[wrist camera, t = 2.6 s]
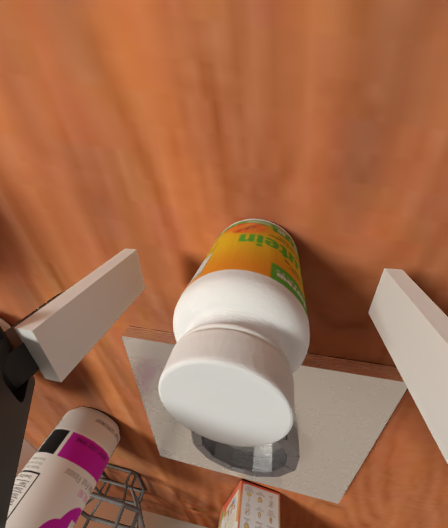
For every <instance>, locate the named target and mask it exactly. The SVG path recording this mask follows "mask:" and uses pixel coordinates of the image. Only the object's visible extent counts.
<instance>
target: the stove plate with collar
mask: <svg viewBox="0 0 448 528" xmlns="http://www.w3.org/2000/svg"><path fill="white" fill-rule="evenodd" d="M122 339H123V342H124V345H125V349H126V352H127V355H128V358H129V361H130V364H131V367H132V370H133V373H134V376H135V379H136V382H137V386H138V389H139V392H140V395H141V398H142V401H143V404H144V407H145V410H146V413H147V416H148V419H149V423H150V426H151V429H152V432H153V435H154V438H155V441H156V444H157V447H158V450H159V453H160V456H162V457H165V458H169V459H173V460H177V461H180V462H184V463H188V464H192V465H195V466H199V467H203V468H207V469H210V470H214V471H218V472H221V473H225V474H229V475H233V476H236V477H240V478H244V479H248V480H251V481H255V482H259V483H263V484H266V485H270V486H274V487H277V488H281V489H285V490H289V491H292V492H296V493H300V494H304V495H307V496H311V497H315V498H319V499H322V500H326V501H330V502H333V503H337V504H338V503H339V502H340V500H341V498H342V497H343V495H344V493H345V492H346V490H347V488H348V487H349V485H350V483H351V482H352V480H353V478H354V477H355V475H356V473H357V472H358V470H359V468H360V467H361V465H362V463H363V462H364V460H365V458H366V457H367V455H368V453H369V452H370V450H371V448H372V447H373V445H374V443H375V442H376V440H377V438H378V436H379V435H380V433H381V431H382V430H383V428H384V426H385V425H386V423H387V421H388V420H389V418H390V416H391V415H392V413H393V411H394V410H395V408H396V406H397V405H398V403H399V401H400V400H401V398H402V396H403V395H404V393H405V391H406V390H407V386H406V384H405V382H404V380H403V378H402V377H401V375H400V373H399V371H398V369H397V367H393V366H387V365H380V364H374V363H367V362H360V361H354V360H347V359H341V358H334V357H328V356H321V355H315V354H308V353H307V354H306V356H305V359H304V361H303V362H302V364H301V365H300V367H299V368H298V369H297V370H296V371H295V372H294V373H293V374H292V375H293V380H294V409H295V417H294V423H293V425H292V428H291V430H290V431H289V433H288V434H287V435H286V436H285V437H283V438H282V439H280V440H279V441H276V442H274V443H271V444H268V445H262V446H253V447H242V446H234V445H229V444H224V443H220V442H216V441H213V440H210V439H208V438H205V437H203V436H201V435H199V434H197V433H195V432H193V431H191V430H190V429H188V428H186V427H185V426H183V425H182V424H181V423H179V422H178V421H177V420H176V419H175V418H174V417H172V415H171V414H170V413H169V412H168V411H167V410H166V408H165V407H164V405H163V403H162V401H161V399H160V396H159V390H158V385H159V380H160V377H161V374H162V372H163V370H164V368H165V366H166V364H167V361H168V359H169V357H170V355H171V352H172V350H173V348H174V346H175V345H176V343H177V342H176V339H175V335H174V333H171V332H164V331H157V330H151V329H144V328H138V327H131V326H129V327H128V328H127V330H126V331H125V332H124V333H123V335H122Z"/></svg>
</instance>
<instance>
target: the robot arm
mask: <svg viewBox="0 0 448 528" xmlns="http://www.w3.org/2000/svg"><path fill="white" fill-rule="evenodd" d="M144 289H145V284H144V280H143V275H142V271H141V266H140V262H139V257H138V253H137V249H124V250H122V251H121V252H120V253H118V254H117V255H115V256H114V257H113V258H111V259H110V260H108V261H107V262H106V263H104V264H103V265H101V266H100V267H99V268H97V269H96V270H94V271H93V272H92V273H90V274H89V275H87V276H86V277H85V278H83V279H82V280H80V281H79V282H77V283H76V284H75V285H73V286H72V287H70V288H69V289H68V290H66V291H64V292H62V293H60V294H58V295H56V296H55V297H53V298H52V299H50V300H49V301H48V302H47V303H45V304H43V305H42V306H40V307H39V309H36V310H35V311H33V312H32V313H31V314H29V315H28V316H26V317H25V318H23V319H22V320H21V321H19V322H18V323H16V324H15V325H13V326H12V327H11V328H9V329H8V330H6V331H5V332H4V331H3V329H2V328H1V326H0V528H5V526H6V521H7V516H8V511H9V507H10V502H11V497H12V492H13V487H14V482H15V477H16V473H17V467H18V463H19V458H20V453H21V448H22V443H23V439H24V434H25V429H26V424H27V419H28V414H29V409H30V405H31V400H32V395H33V390H34V385H35V379H34V377H33V375H34V374H35V373H36V372H37V371H38V370H40V371H41V373H42V375H43V376H44V378H45V379H48V380H52V381H57V382H62V381H63V380H64V379H65V378H66V377H67V376H68V374H69V373H70V372H71V371H72V370H73V369H74V368H75V367H76V365H77V364H78V363H79V362H80V361H81V360H82V359H83V358H84V356H85V355H86V354H87V353H88V352H89V351H90V350H91V349H92V348H93V346H94V345H95V344H96V343H97V342H98V341H99V340H100V339H101V337H102V336H103V335H104V334H105V333H106V332H107V331H108V330H109V328H110V327H111V326H112V325H113V324H114V323H115V322H116V321H117V320H118V318H119V317H120V316H121V315H122V314H123V313H124V312H125V311H126V309H127V308H128V307H129V306H130V305H131V304H132V303H133V302H134V300H135V299H136V298H137V297H138V296H139V295H140V294H141V293H142V291H143V290H144ZM368 314H369V316H370V317H371V319H372V321H373V323H374V325H375V327H376V329H377V331H378V333H379V335H380V337H381V338H382V340H383V342H384V344H385V346H386V348H387V350H388V352H389V354H390V356H391V357H392V359H393V361H394V363H395V365H396V367H397V369H398V371H399V373H400V375H401V377H402V378H403V380H404V382H405V384H406V386H407V388H408V390H409V392H410V394H411V396H412V398H413V399H414V401H415V403H416V405H417V407H418V409H419V411H420V413H421V415H422V417H423V418H424V420H425V422H426V424H427V426H428V428H429V430H430V432H431V434H432V436H433V438H434V439H435V441H436V443H437V445H438V447H439V449H440V451H441V453H442V455H443V457H444V458H445V460H446V462H447V464H448V317H447V316H446V315H445V314H444V312H443V311H442V310H441V309H440V308H439V307H438V306H437V305H436V304H435V303H434V302H433V301H432V300H431V299H430V298H429V297H428V296H427V295H426V294H425V293H424V292H423V291H422V290H421V289H420V288H419V287H418V285H417V284H416V283H415V282H414V281H413V280H412V279H411V278H410V277H409V276H408V275H407V274H406V273H405V272H404V271H403V270H400V269H387V268H384V271H383V273H382V276H381V279H380V282H379V284H378V287H377V290H376V292H375V295H374V298H373V301H372V303H371V306H370V309H369V312H368Z"/></svg>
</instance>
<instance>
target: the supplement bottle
mask: <svg viewBox="0 0 448 528" xmlns="http://www.w3.org/2000/svg"><path fill="white" fill-rule="evenodd" d="M173 329H174V335H175V339H176V342H177V343H176V345H175V346H174V348H173V350H172V352H171V355H170V357H169V359H168V361H167V364H166V366H165V368H164V370H163V372H162V374H161V377H160V380H159V385H158V390H159V396H160V399H161V401H162V403H163V405H164V407H165V408H166V410H167V411H168V412H169V413H170V414H171V415H172V417H174V418H175V419H176V420H177V421H178V422H179V423H181V424H182V425H183V426H185V427H186V428H188V429H190V430H191V431H193V432H195V433H197V434H199V435H201V436H203V437H205V438H208V439H210V440H213V441H216V442H220V443H224V444H229V445H234V446H242V447H253V446H262V445H268V444H271V443H274V442H276V441H279V440H280V439H282V438H283V437H285V436H286V435H287V434H288V433H289V431H290V430H291V428H292V425H293V423H294V417H295V409H294V380H293V375H292V374H293V373H294V372H295V371H296V370H297V369H298V368H299V367H300V365H301V364H302V362H303V361H304V359H305V356H306V354H307V351H308V347H309V342H310V330H309V319H308V313H307V308H306V301H305V295H304V289H303V282H302V276H301V269H300V262H299V256H298V251H297V248H296V245H295V243H294V241H293V239H292V238H291V236H290V235H289V234H288V233H287V232H286V231H285V230H284V229H283V228H282V227H280V226H279V225H277V224H275V223H273V222H270V221H267V220H263V219H245V220H241V221H238V222H236V223H234V224H232V225H230V226H229V227H228V228H226V229H225V230H224V231H223V232H222V234H221V235H220V236H219V237H218V239H217V240H216V242H215V243H214V245H213V247H212V248H211V250H210V251H209V253H208V255H207V256H206V258H205V259H204V261H203V263H202V264H201V266H200V267H199V269H198V271H197V272H196V274H195V275H194V277H193V278H192V280H191V281H190V283H189V284H188V286H187V287H186V289H185V290H184V292H183V293H182V295H181V297H180V299H179V301H178V303H177V305H176V308H175V312H174V317H173Z"/></svg>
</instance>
